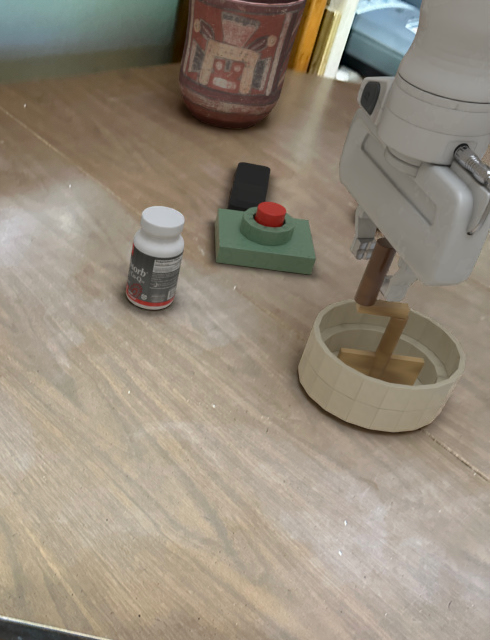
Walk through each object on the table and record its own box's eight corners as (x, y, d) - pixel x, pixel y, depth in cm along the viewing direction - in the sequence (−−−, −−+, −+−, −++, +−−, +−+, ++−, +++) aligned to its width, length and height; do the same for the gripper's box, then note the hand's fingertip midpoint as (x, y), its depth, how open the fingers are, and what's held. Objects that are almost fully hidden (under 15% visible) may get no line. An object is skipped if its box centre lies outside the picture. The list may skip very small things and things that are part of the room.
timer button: (281, 216, 98) (285, 203, 97) (283, 230, 96) (287, 217, 94) (253, 213, 98) (257, 199, 97) (255, 227, 96) (258, 213, 94)
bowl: (424, 355, 87) (447, 308, 83) (453, 445, 77) (481, 398, 73) (291, 337, 87) (307, 290, 83) (303, 425, 77) (322, 377, 73)
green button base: (303, 235, 103) (312, 206, 100) (310, 274, 96) (320, 245, 93) (214, 223, 103) (221, 194, 100) (215, 262, 96) (222, 232, 93)
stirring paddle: (410, 378, 82) (475, 249, 71) (414, 389, 81) (481, 260, 69) (323, 366, 82) (375, 235, 71) (326, 378, 80) (378, 246, 69)
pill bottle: (117, 287, 91) (128, 205, 83) (161, 281, 92) (175, 200, 85) (136, 314, 87) (150, 231, 80) (181, 308, 89) (198, 226, 82)
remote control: (235, 172, 115) (226, 214, 105) (238, 160, 114) (229, 201, 103) (268, 178, 115) (261, 221, 104) (271, 166, 113) (265, 208, 103)
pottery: (159, 92, 132) (178, -35, 118) (255, 95, 135) (284, -29, 121) (186, 137, 121) (210, 2, 107) (290, 138, 124) (327, 7, 110)
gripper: (541, 181, 56) (456, 340, 67) (419, 74, 69) (363, 222, 79) (464, 180, 55) (389, 342, 65) (354, 72, 68) (306, 222, 78)
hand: (374, 276), depth 73 cm, fingers open, 6 cm apart
